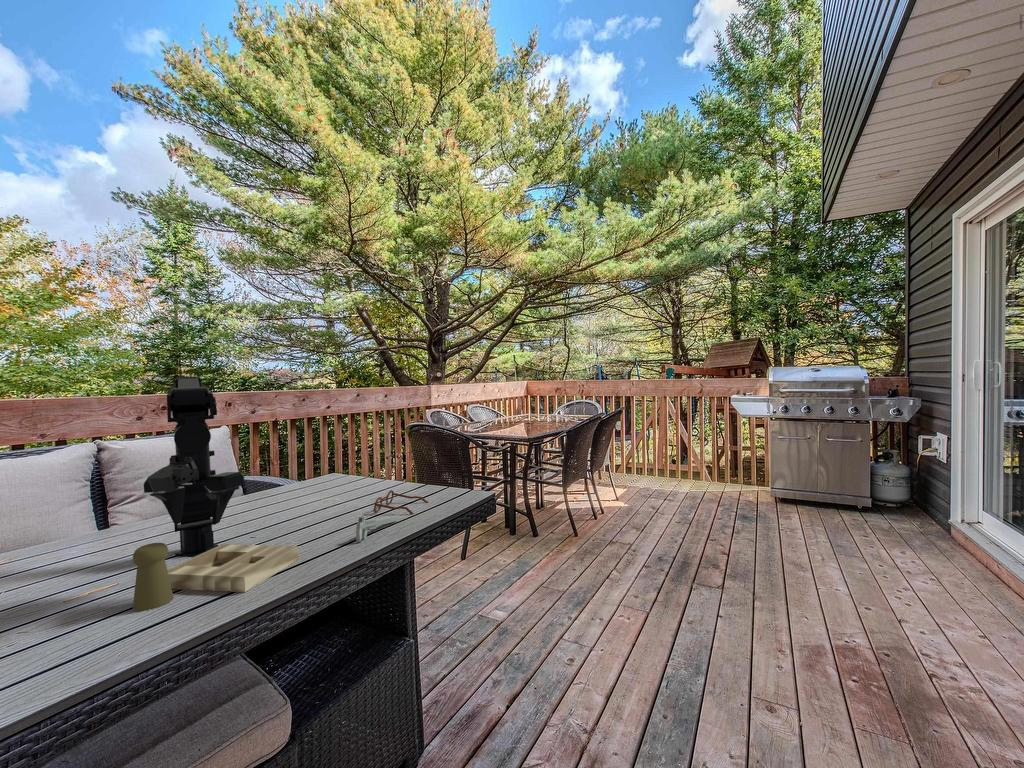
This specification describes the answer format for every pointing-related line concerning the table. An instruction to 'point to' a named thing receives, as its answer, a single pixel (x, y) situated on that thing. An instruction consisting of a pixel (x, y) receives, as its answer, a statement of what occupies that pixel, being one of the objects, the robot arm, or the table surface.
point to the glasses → (391, 501)
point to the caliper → (371, 525)
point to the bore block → (231, 567)
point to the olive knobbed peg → (151, 577)
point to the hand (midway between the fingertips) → (196, 523)
